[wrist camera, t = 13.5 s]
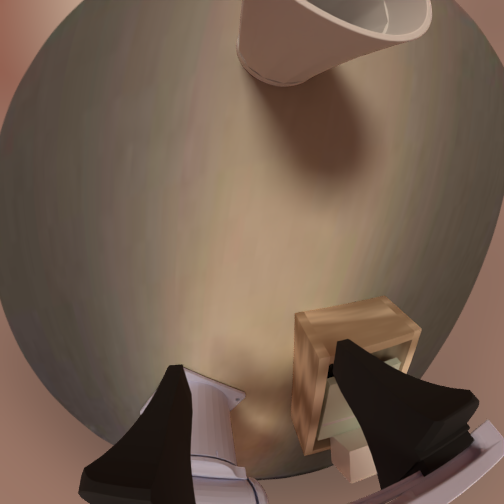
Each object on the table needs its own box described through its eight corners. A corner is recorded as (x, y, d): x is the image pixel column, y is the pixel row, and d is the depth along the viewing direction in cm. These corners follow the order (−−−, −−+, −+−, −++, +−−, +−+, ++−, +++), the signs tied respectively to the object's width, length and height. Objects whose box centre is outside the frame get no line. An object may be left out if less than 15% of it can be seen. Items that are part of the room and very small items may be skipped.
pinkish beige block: (364, 451, 22) (388, 468, 17) (331, 462, 22) (350, 483, 16) (363, 422, 23) (388, 437, 18) (329, 433, 23) (349, 451, 18)
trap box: (358, 395, 29) (380, 431, 23) (289, 413, 28) (304, 455, 22) (382, 293, 24) (421, 329, 18) (293, 310, 23) (319, 358, 17)
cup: (318, 14, 15) (399, -61, 4) (335, 97, 18) (451, 61, 7) (218, 13, 14) (235, -95, 3) (231, 102, 17) (264, 27, 6)
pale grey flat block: (363, 398, 26) (377, 421, 22) (307, 414, 25) (318, 441, 22) (380, 338, 23) (401, 363, 19) (314, 355, 22) (330, 385, 18)
